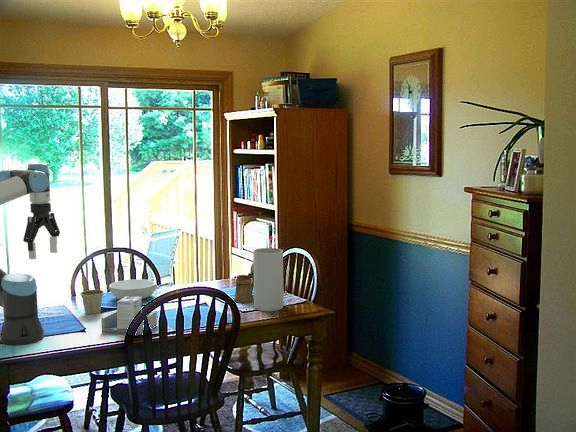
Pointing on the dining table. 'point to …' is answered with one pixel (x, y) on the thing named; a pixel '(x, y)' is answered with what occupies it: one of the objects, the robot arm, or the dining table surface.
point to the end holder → (111, 327)
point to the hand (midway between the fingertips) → (43, 255)
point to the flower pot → (92, 301)
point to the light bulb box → (127, 310)
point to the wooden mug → (245, 287)
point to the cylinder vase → (268, 279)
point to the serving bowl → (133, 288)
